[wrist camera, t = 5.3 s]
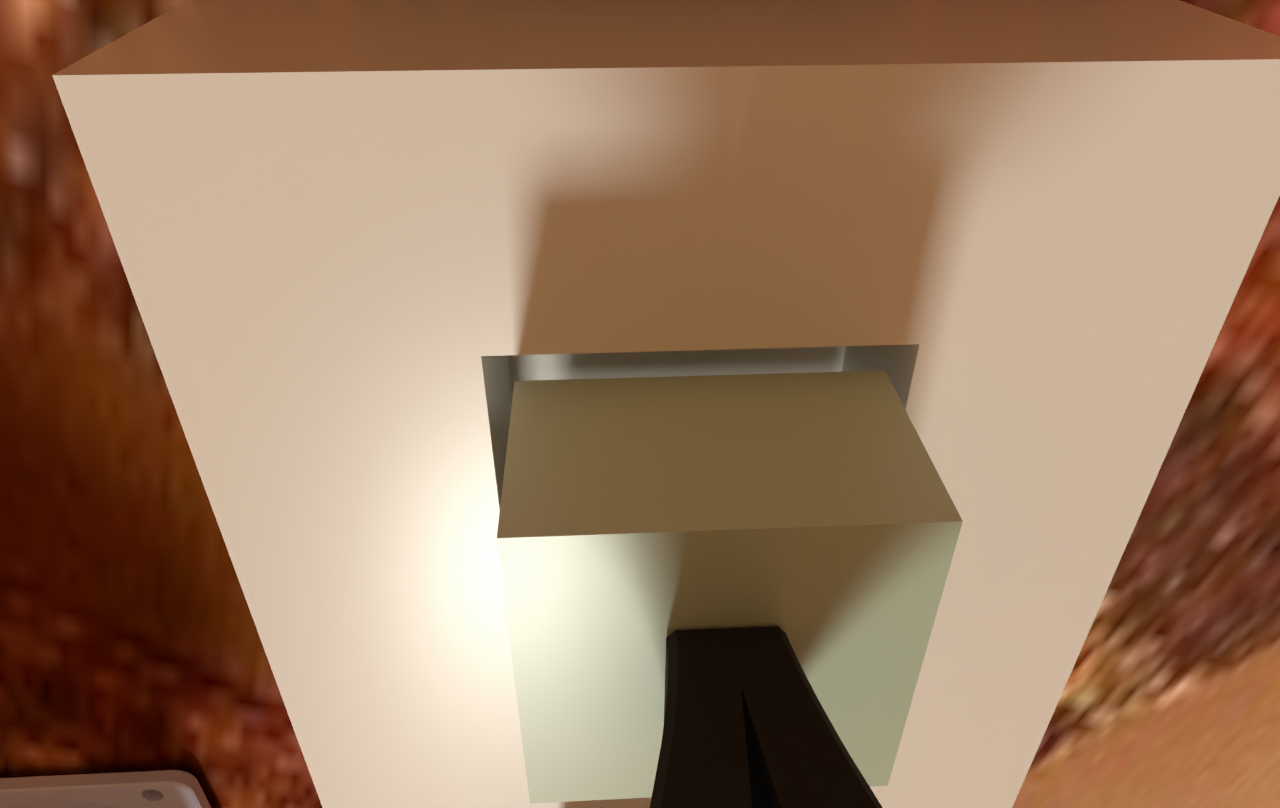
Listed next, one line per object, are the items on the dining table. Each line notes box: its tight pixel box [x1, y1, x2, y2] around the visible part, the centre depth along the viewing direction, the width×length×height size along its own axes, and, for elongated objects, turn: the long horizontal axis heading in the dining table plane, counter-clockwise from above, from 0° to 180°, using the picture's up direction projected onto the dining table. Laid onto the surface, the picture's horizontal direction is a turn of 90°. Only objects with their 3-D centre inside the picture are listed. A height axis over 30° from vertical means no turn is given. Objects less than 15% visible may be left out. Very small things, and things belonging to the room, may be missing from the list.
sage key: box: [497, 370, 963, 803], centre depth 12 cm, size 5×5×3 cm
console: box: [52, 0, 1280, 808], centre depth 18 cm, size 14×24×4 cm, turn 0°
